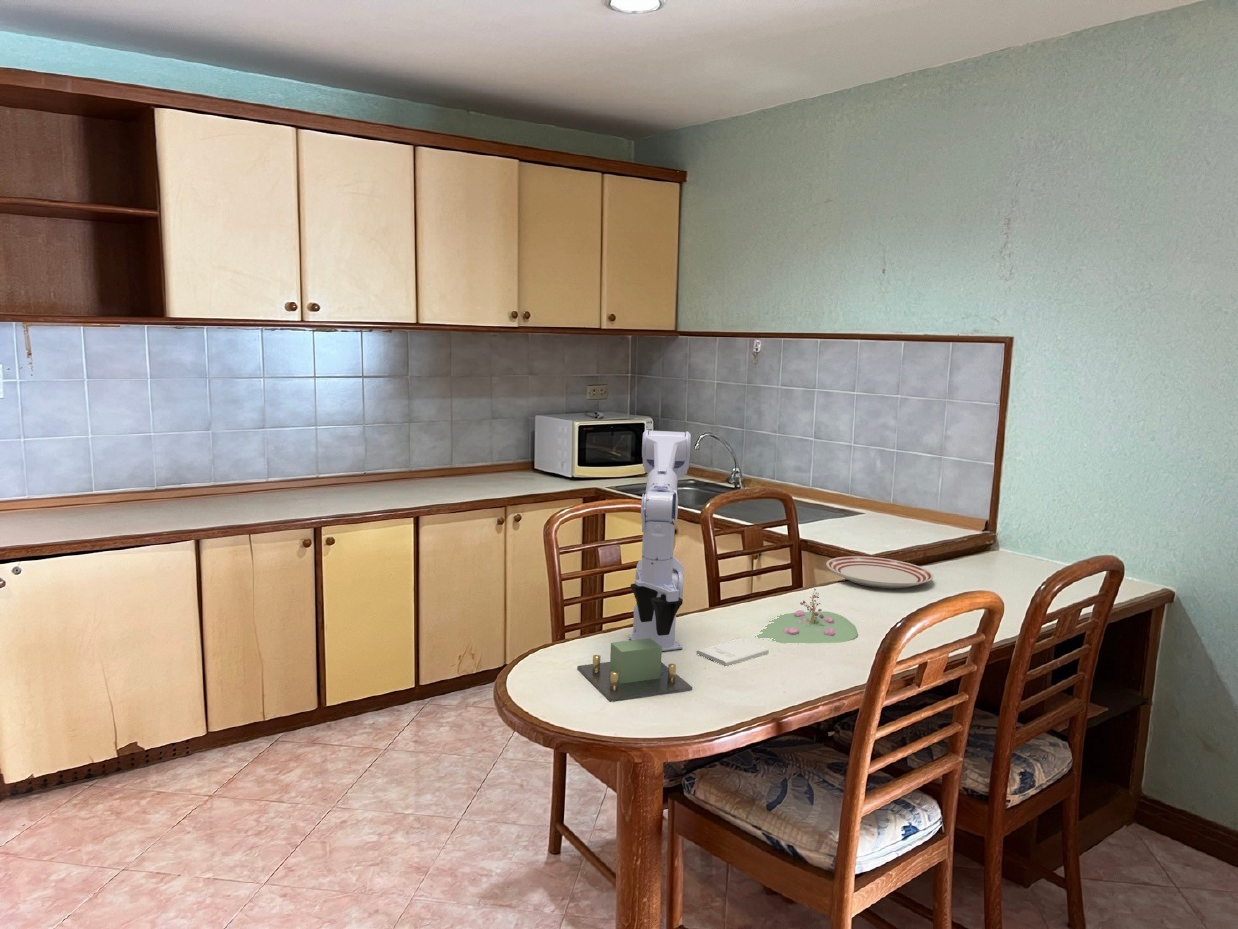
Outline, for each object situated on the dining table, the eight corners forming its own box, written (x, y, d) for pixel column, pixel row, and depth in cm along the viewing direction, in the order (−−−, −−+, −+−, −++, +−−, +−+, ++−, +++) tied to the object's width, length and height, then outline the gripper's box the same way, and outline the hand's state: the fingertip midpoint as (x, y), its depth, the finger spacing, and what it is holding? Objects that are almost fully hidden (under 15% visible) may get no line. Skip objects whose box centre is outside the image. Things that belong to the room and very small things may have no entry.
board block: (609, 673, 169) (610, 642, 169) (648, 668, 173) (650, 638, 172) (620, 683, 165) (621, 651, 164) (660, 678, 168) (661, 647, 167)
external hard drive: (768, 656, 185) (725, 669, 177) (738, 644, 191) (695, 656, 183) (769, 648, 184) (726, 661, 177) (738, 637, 191) (696, 648, 183)
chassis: (577, 668, 173) (577, 650, 172) (653, 659, 179) (654, 641, 179) (610, 701, 158) (610, 682, 158) (692, 690, 165) (693, 671, 164)
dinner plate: (868, 561, 262) (869, 550, 262) (953, 584, 241) (954, 572, 240) (804, 574, 246) (804, 562, 245) (889, 601, 224) (890, 588, 224)
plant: (806, 658, 184) (809, 615, 183) (729, 630, 200) (731, 590, 198) (876, 633, 201) (879, 594, 199) (800, 609, 216) (802, 572, 215)
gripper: (622, 548, 172) (619, 617, 174) (654, 568, 159) (651, 643, 161) (656, 545, 175) (653, 614, 177) (690, 565, 162) (686, 639, 164)
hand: (654, 627), depth 169 cm, fingers open, 7 cm apart
